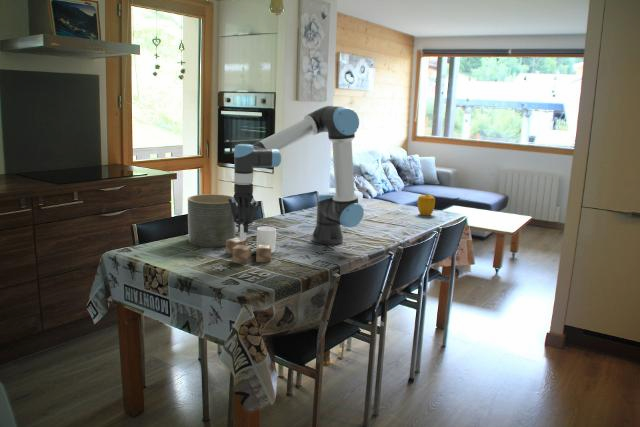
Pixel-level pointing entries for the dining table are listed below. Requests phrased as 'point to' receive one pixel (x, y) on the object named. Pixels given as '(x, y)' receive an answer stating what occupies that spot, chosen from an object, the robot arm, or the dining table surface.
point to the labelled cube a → (233, 244)
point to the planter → (210, 220)
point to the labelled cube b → (263, 253)
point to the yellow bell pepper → (426, 204)
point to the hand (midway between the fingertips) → (243, 239)
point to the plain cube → (241, 254)
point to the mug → (266, 237)
